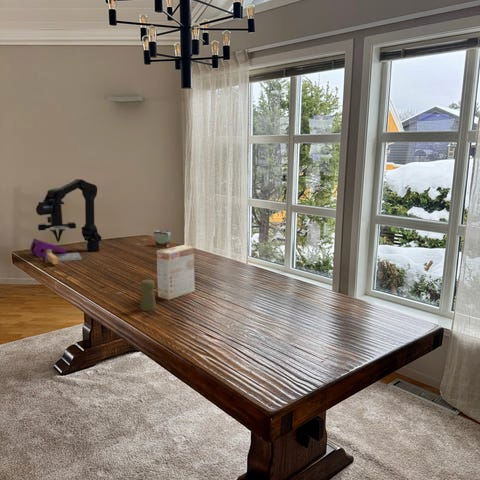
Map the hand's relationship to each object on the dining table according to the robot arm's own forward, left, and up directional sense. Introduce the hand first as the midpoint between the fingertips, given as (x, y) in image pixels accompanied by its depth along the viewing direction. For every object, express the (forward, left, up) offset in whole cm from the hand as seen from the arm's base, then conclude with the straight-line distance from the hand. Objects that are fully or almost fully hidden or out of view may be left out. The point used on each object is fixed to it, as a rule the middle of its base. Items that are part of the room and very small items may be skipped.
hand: (58, 241), depth 237 cm
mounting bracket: (+4, -16, -10) cm, 20 cm away
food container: (-62, -12, -10) cm, 64 cm away
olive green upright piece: (-25, +95, -10) cm, 99 cm away
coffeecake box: (-40, +83, -10) cm, 93 cm away
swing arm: (+4, +7, -9) cm, 12 cm away
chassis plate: (-2, -3, -10) cm, 11 cm away
